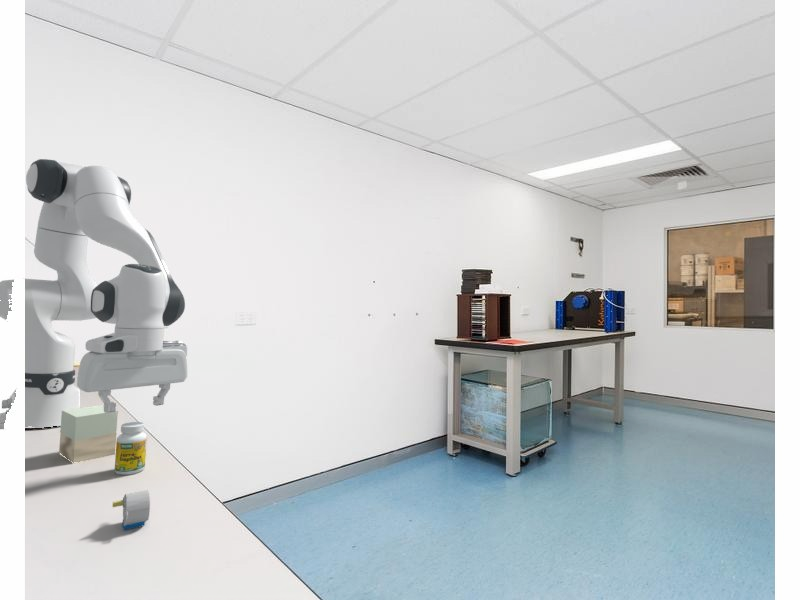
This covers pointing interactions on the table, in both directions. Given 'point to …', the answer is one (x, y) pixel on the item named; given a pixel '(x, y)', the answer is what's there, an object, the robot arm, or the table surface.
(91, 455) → the tower bottom block
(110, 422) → the tower top block
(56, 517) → the table surface
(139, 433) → the supplement bottle
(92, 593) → the table surface
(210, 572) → the table surface
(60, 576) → the table surface
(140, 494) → the electric motor
